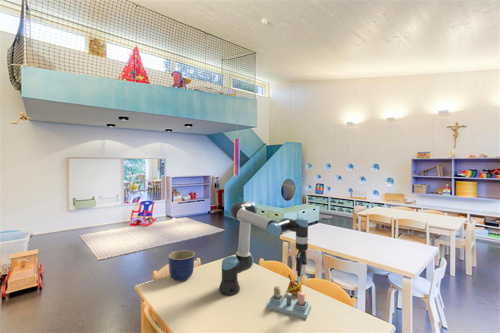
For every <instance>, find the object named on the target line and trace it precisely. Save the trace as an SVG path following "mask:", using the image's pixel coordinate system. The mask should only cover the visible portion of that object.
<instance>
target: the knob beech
mask: <svg viewBox="0 0 500 333" xmlns="http://www.w3.org/2000/svg"><path fill="white" fill-rule="evenodd" d="M281 289H282V288H281V287H280V286H279V285H278V286H273V294H274V299H278V300H280V299H281V295H282V293H281V291H282V290H281Z"/></svg>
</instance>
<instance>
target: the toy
mask: <svg viewBox="0 0 500 333" xmlns="http://www.w3.org/2000/svg"><path fill="white" fill-rule="evenodd" d="M287 276H288V278H289V283H288V286H287V289H286V293H291V294H292V296H293V295H296V294H297V295H298V292H303V290H302V289H303V288H302V282H299V281H297V279H295V280H294V279H292V277H291V275H290V274H287ZM301 290H302V291H301Z"/></svg>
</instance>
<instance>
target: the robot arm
mask: <svg viewBox="0 0 500 333" xmlns="http://www.w3.org/2000/svg"><path fill="white" fill-rule="evenodd" d="M229 211H230V212H229V213H230V216H231V217H232V218H233V219H234V220H237V221H239V231H238V232H239V233H238V248H237V251H236V252H235V255H234V256H233V255H231V256H229V255H228V256H226V257H224V258H223V259H222V260H221V281H220V284H219V288H218V289H219V291H218V292H219V293H220V295H223V296H234V295H237V294H238V293H240V291H241V290H240V288H241V287H240V284H239V280H238V275H239V274H241V273H243V272H245V271H248V270H249V269H250V268H252V267H253V265H254V258H253V255H252V253H251V252H250V245H251V244H250V243H251V242H250V241H251V230H252V229H251V228H252V225H253V226H255V227H257V228H260V229H262V230H265V231H267V232H268V234H269V235H270V236H273V237H274V236H279V235H281V234H283V233H286V232H293V233H294V232H295V249H296V250H298V252H297V254H296V266H295V267H296V268H295V272H296V280H297V281H299V282H301V283H302V282H303V281H302V280H303V279H302V276H306V272H307V271H306V270H307V269H306V268H307V267H306V266H307V265H308V263H307V261H308V260H307V250H308V249H309V244H308V242H309V240H310V238H309V219H307V217H296V218H295V219H292V218H288V217H282V218H280V219H279V220H278V221H276V220H274V219H271V218H269V217H265V216H263V215H261V214H257V213H258V207H257V205H256V203H255V202H254V201H252V200H248V201H247V200H245V201H239V202H235V203H234V204H232V206H231V207H230V210H229Z"/></svg>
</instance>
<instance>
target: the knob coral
mask: <svg viewBox="0 0 500 333" xmlns="http://www.w3.org/2000/svg"><path fill="white" fill-rule="evenodd" d="M305 296H306V294H305V293H304V292H303V291H302V292H300V291H299V292H298V294H297V299H298V305H301V306H305V301H306V299H305V298H306V297H305Z"/></svg>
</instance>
